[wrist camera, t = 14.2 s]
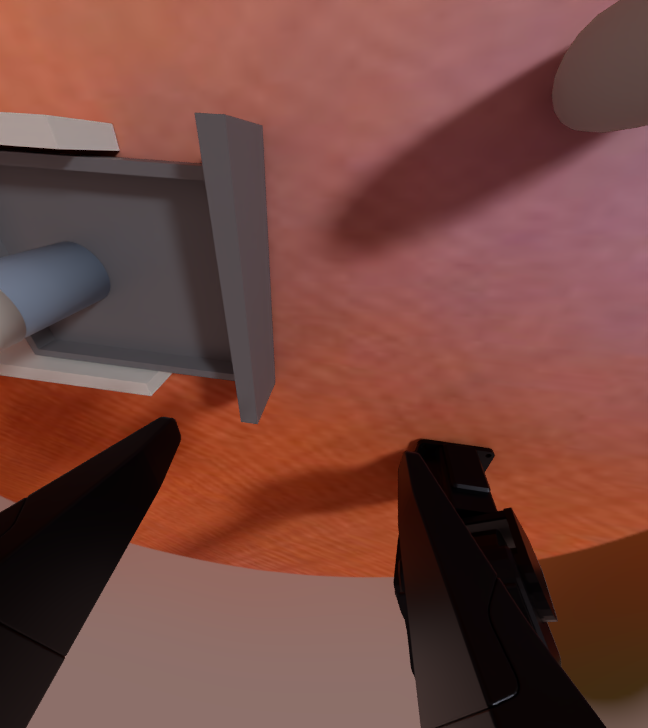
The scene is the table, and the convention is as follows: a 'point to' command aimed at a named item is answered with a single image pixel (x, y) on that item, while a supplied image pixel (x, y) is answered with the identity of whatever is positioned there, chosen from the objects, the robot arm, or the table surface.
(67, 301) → the canister
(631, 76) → the donut
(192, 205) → the tray
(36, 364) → the dock
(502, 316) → the table surface
